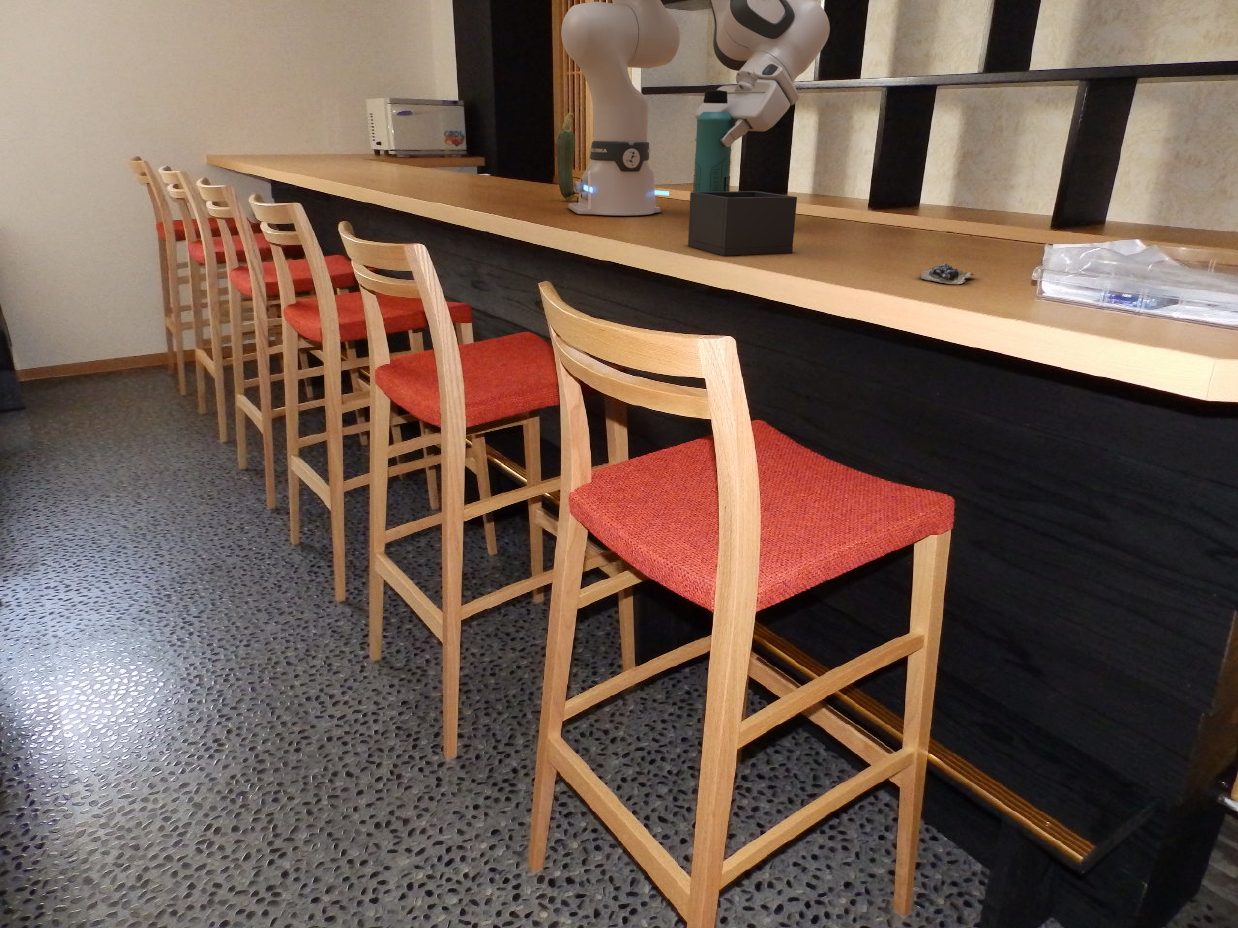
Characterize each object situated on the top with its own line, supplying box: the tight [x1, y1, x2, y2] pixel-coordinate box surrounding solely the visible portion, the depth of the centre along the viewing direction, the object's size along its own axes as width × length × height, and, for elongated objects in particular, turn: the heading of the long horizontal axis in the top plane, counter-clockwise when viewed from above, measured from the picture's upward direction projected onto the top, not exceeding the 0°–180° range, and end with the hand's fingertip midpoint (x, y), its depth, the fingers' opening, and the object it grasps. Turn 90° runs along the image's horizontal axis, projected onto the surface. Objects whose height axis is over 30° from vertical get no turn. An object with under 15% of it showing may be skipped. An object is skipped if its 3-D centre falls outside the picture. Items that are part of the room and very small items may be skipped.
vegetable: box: [556, 111, 576, 202], centre depth 200 cm, size 4×4×20 cm
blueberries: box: [920, 263, 975, 285], centre depth 105 cm, size 7×8×2 cm
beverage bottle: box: [692, 89, 733, 192], centre depth 148 cm, size 6×7×20 cm
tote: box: [687, 190, 798, 257], centre depth 127 cm, size 12×12×8 cm
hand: (710, 143), depth 147 cm, fingers closed on beverage bottle, 6 cm apart
